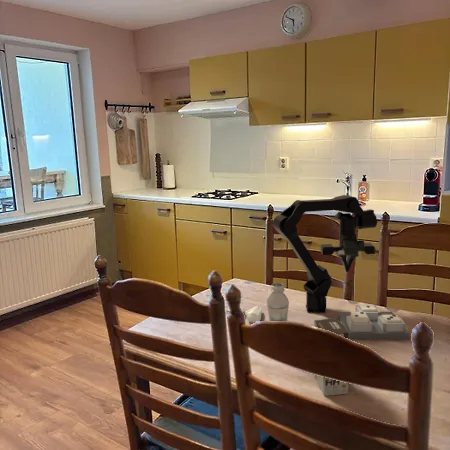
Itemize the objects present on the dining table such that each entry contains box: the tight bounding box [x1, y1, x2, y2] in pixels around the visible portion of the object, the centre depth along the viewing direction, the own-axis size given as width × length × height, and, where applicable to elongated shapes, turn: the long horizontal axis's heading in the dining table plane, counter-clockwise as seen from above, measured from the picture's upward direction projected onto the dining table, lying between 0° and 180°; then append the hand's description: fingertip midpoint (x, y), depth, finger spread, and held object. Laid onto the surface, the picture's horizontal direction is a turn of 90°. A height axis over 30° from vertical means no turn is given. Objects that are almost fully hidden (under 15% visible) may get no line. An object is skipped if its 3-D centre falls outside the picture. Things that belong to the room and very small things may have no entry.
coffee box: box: [313, 318, 349, 397], centre depth 109 cm, size 9×6×16 cm
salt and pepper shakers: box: [225, 305, 263, 324], centre depth 155 cm, size 12×4×11 cm
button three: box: [382, 314, 401, 323], centre depth 137 cm, size 4×4×3 cm
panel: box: [338, 304, 410, 340], centre depth 142 cm, size 18×17×4 cm
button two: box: [350, 311, 368, 323], centre depth 138 cm, size 4×4×3 cm
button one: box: [359, 303, 376, 312], centre depth 146 cm, size 4×4×3 cm
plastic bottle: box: [266, 282, 290, 322], centre depth 129 cm, size 6×7×20 cm
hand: (347, 271), depth 160 cm, fingers closed
